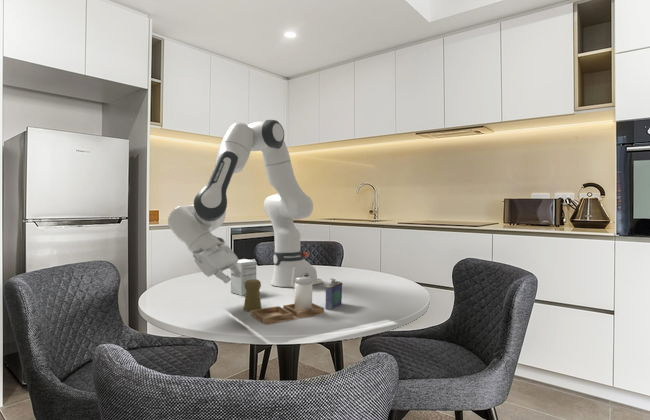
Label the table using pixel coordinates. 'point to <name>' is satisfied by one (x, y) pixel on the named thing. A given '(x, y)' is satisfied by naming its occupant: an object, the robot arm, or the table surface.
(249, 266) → the supplement box
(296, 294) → the salt shaker
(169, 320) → the table surface
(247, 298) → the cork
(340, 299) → the flask
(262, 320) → the caddy
